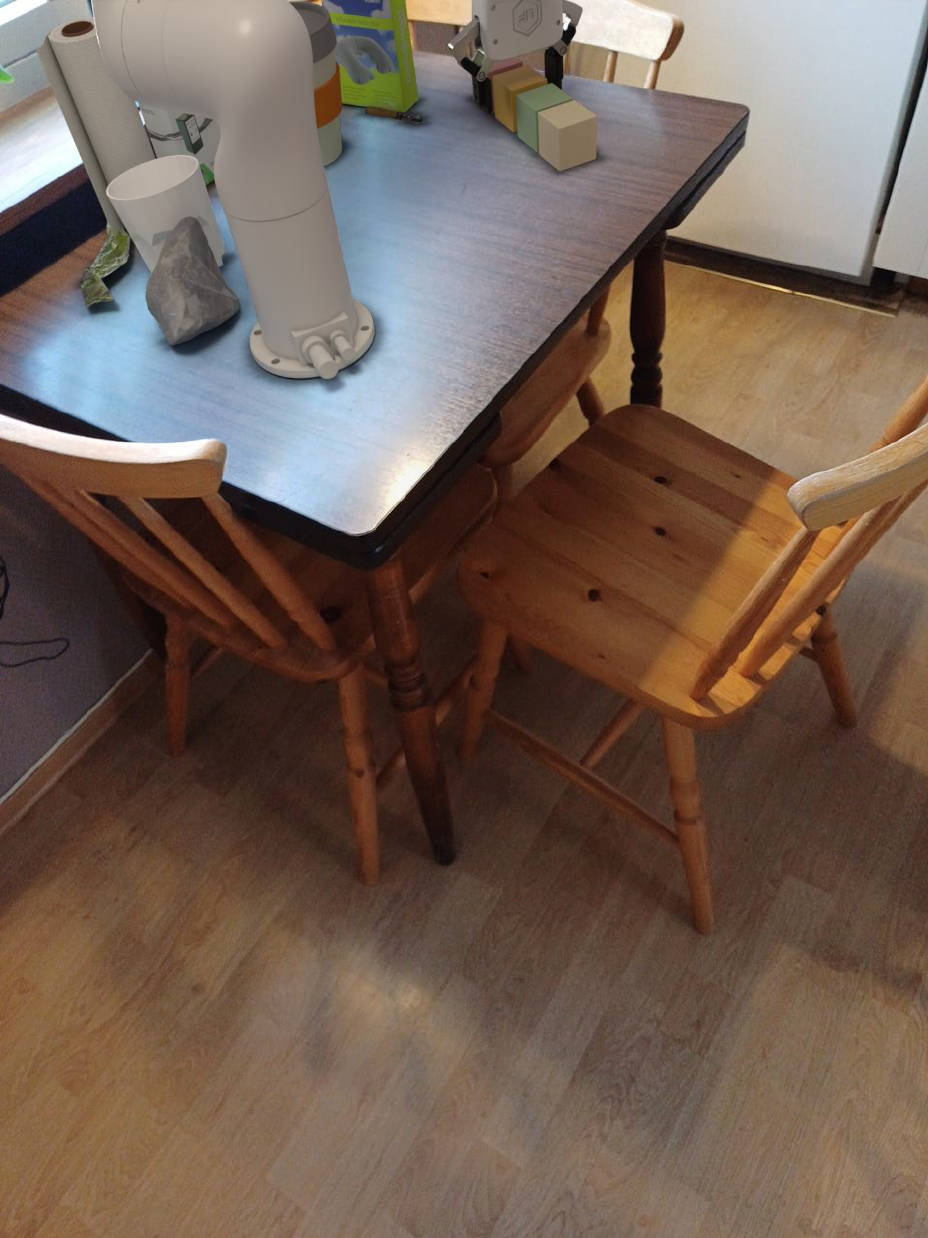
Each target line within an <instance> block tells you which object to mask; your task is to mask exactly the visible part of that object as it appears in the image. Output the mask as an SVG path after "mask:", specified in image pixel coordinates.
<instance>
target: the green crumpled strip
mask: <svg viewBox="0 0 928 1238" xmlns="http://www.w3.org/2000/svg"><path fill="white" fill-rule="evenodd" d="M121 224H122V223H121ZM105 229H106V239H105V242H104V243H103V245H102V247H100V250H99V251H98V253H97V255H96V258H94V261H93V263H92V264H91V265H90V266H86V267H85V269H84V270H83V274H82V276H81V280H80V281H79V284H80V288H81V293H82V298H83V301H84V304H85V305H84V306H85V309H88V308H89V307H90V306H91V305H93V304H95V303H96V304H97V303H100V302H101V303H108V302H111V301H112V302H113V301H116V300H115V298H114V297H113V295H112V293H111V290H109V289H108V287H107V286H106V284H105V282H104V281H103V278H105V277H107V276H108V275H110V274H111V273H113V272H114V271H116V270H117V269H119V268H120V267H121V266H123V265H125V264H126V263H127V261H128V260H129V258H130V257H129V256H130V254H129V253H130V248H131V247H130V246H131V244H130V243H131V239H132V238H131V236H130V234H128V232H127V231H125V230H126V229H125V230H124V229H123V228H122V225H121V226H120V229H119V231H118V234H117V236H116V238H115V237H114V235H113V233H112V230H111V228H110V225H109V223H108V221H107V220H106V228H105Z"/></svg>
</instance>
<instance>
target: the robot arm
mask: <svg viewBox="0 0 928 1238" xmlns="http://www.w3.org/2000/svg"><path fill="white" fill-rule="evenodd" d="M289 2H290V1H288V0H90V3H91V9H92V15H93V18H94V22H95V28H96V34H97V39H98V43H99V47H100V51H101V54H102V57H103V60H104V63H105V66H106V68H107V70H108V72H109V74H110V76H111V77H112V79H113V81H114V82H115V84H116V85H117V86H118V87H119V88H120V90H121V91H122V92H123V93H124V94H126V95H127V96H128V97H130V98H131V99H133V100H134V101H135V102H136V103H137V104H138V103H141V104H143V105H147V106H150V107H154V108H159V109H163V110H169V111H175V112H181V113H186V114H192V115H197V116H200V117H205V118H209V119H212V120H214V121H216V122H217V124H218V125H219V128H220V142H219V146H218V149H217V153H216V156H215V161H214V178H215V180H214V185H215V188H216V192H217V194H218V198H219V201H220V205H221V207H222V209H223V213H224V215H225V220H226V222H227V225H228V228H229V231H230V235H231V239H232V241H233V245H234V249H235V251H236V254H237V258H238V261H239V263H240V267H241V270H242V273H243V276H244V279H245V283H246V285H247V286H246V287H247V289H248V293H249V295H250V298H251V303H252V305H253V308H254V311H255V315H256V318H257V322H256V323H255V325H254V326H253V328H252V330H251V331H250V334H249V348H250V352H251V354H252V356H253V359H254V361H255V362H256V363H257V364H258V366H259V367H260V368H262V369H263V370H265V371H266V372H269V373H271V374H273V375H276V376H280V377H283V378H289V379H291V378H292V379H311V378H318V377H320V378H321V379H324V380H330V379H333V378H334V377H336V376H337V374H338V373H339V371H340V370H343V369H345V368H346V367H349V366H350V365H351V364H353V363H355V362H356V361H357V360H358V359H360V358H361V357H362V356H364V354H365V353H366V352H367V351H368V349H370V346H371V345H372V343H373V341H374V337H375V334H376V333H375V330H376V329H375V322H374V319H373V318H374V317H373V316H372V314H371V312H370V309H368V308H367V307H366V305H364V304H363V303H362V302H359V301H358V300H356V299H354V298H353V293H352V288H351V284H350V279H349V275H348V269H347V266H346V261H345V256H344V252H343V248H342V241H341V238H340V234H339V228H338V224H337V220H336V215H335V210H334V205H333V201H332V196H331V192H330V191H331V190H330V187H329V183H328V178H327V173H326V169H325V166H324V164H323V159H322V154H321V149H320V144H319V138H318V131H317V125H316V116H315V104H314V77H313V54H312V47H311V40H310V36H309V33H308V30H307V27H306V25H305V23H304V21H303V19H302V17H301V16H300V14H299V13H298V11H297V10H296V9H295V8H294V7H293V6H292V5H291V4H290V3H289ZM583 11H584V9H583V7H582V6H581V5H579V4H577V3H576V2H573V1H570V0H471V20H470V22H468V24H465V26H464V27H463V28H462V29H461V30H460V31H459V32H458V33H457V34H456V35H455V36H454V37H453V38H452V39H451V40H450V41H449V42H448V49H449V51H450V53H451V54H452V56H453V58H454V59H455V60H456V63H457V64H458V66H459V67H461V68H462V69H463V70H465V71H466V72H467V73H469V75H470V76H471V75H472V77H471V83H472V82H473V89H472V96H473V95H474V100H473V102H474V104H475V105H476V107H477V108H478V109H480V110H481V111H482V112H483V113H485V114H486V115H491V114H493V113H492V112H493V103H492V88H491V80H490V79H489V78H487V75H488V73H489V71H490V69H491V67H492V65H493V63H494V62H503V61H507V60H510V59H514V58H520V57H523V56H526V55H529V54H533V53H536V52H539V51H542V50H544V55H543V56H544V77H545V78H546V79H547V85H548V84H551V83H553V84H554V85H555V86H557V87H558V88H559V89H561V90H562V91H563V80H564V76H565V75H564V56H565V55H567V53H568V52H569V51H568V50H569V45H570V43H571V42H572V40H573V39H574V37H575V36H576V34H577V27H578V26H579V23H580V20H581V17H582V14H583ZM563 14H565V17H564V15H563ZM472 42H473V46H474V48H475V51H474V53H473V55H472V58H470V57H469V56H468V53H467V52H466V51H467V48H468V46H470V44H471V43H472ZM470 59H471V60H470Z"/></svg>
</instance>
